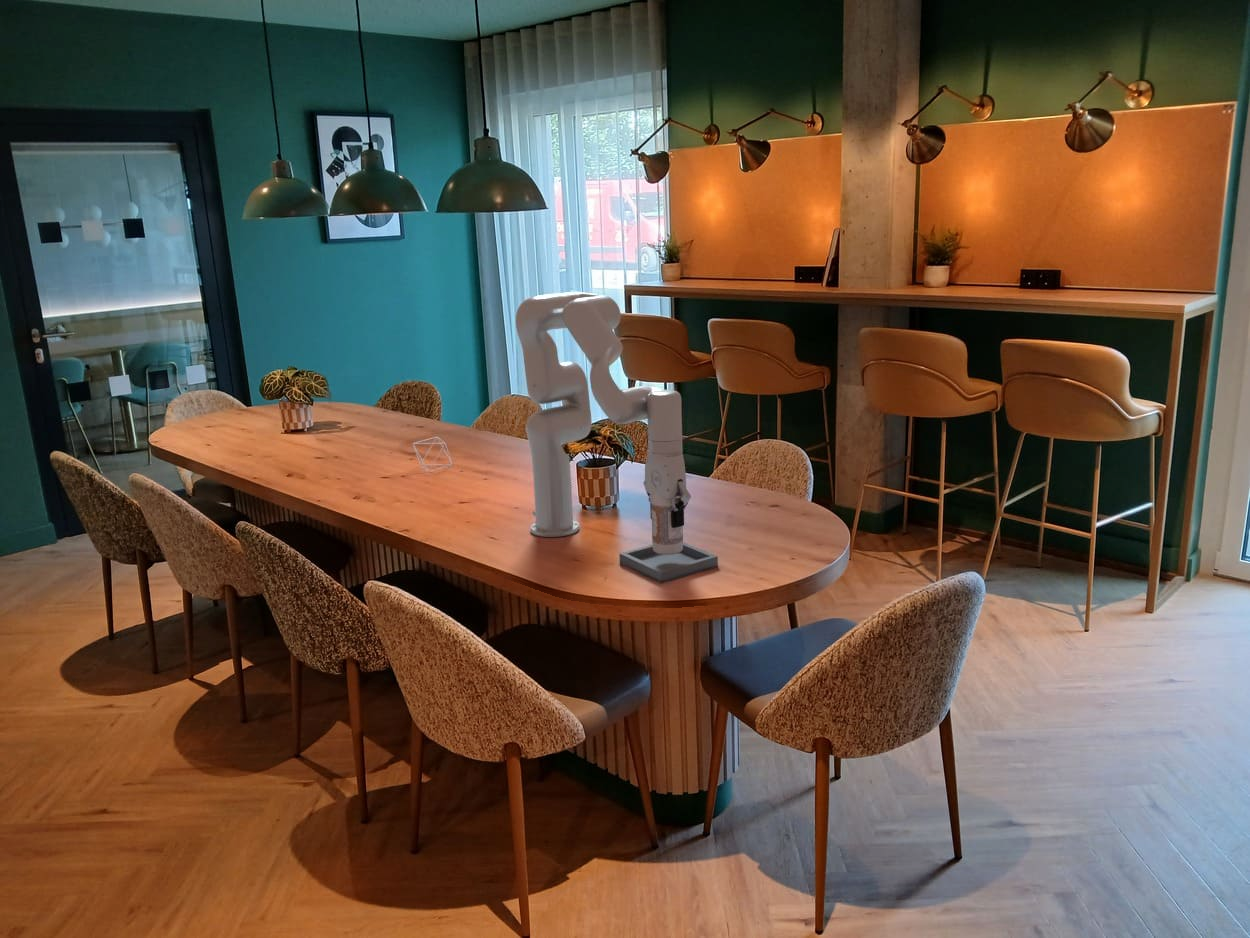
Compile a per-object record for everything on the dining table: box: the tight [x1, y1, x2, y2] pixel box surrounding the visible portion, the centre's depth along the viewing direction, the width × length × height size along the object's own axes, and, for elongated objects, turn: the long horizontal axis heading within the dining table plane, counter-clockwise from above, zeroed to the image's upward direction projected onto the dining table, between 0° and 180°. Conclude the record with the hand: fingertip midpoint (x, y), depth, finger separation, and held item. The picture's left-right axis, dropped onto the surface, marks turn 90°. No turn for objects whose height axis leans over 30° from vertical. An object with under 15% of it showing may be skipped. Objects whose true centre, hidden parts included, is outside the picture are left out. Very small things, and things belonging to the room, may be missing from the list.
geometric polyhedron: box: [412, 436, 453, 473], centre depth 312 cm, size 12×11×9 cm
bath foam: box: [650, 493, 684, 555], centre depth 215 cm, size 7×7×20 cm
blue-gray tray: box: [618, 541, 719, 584], centre depth 218 cm, size 16×16×2 cm
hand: (667, 521), depth 216 cm, fingers closed on bath foam, 7 cm apart
